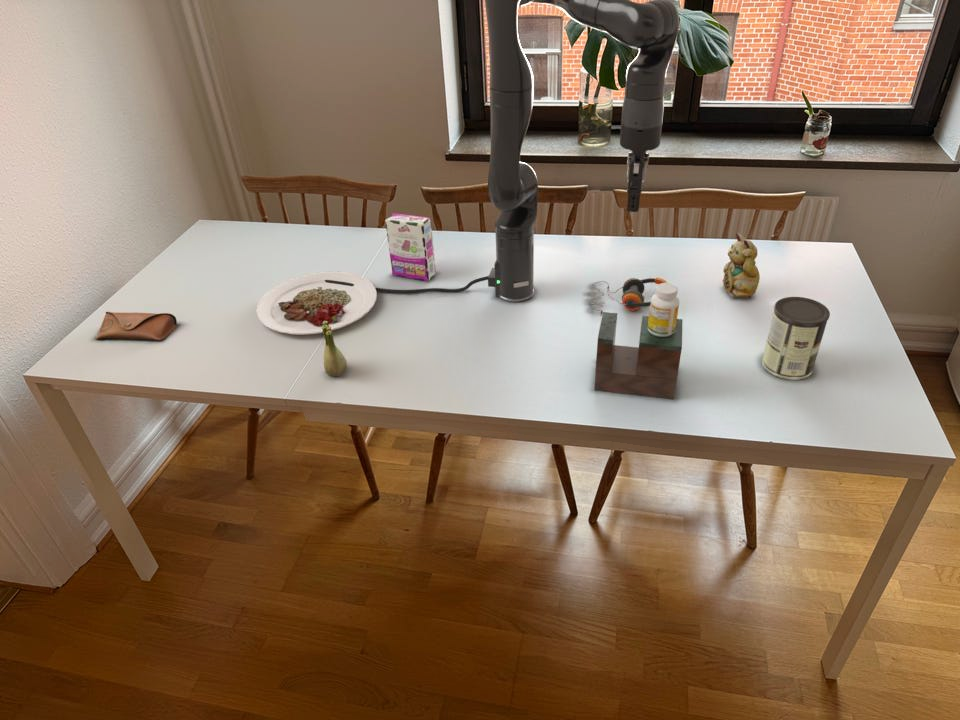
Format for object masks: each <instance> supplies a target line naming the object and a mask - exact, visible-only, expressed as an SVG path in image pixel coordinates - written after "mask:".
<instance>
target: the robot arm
mask: <svg viewBox="0 0 960 720" xmlns="http://www.w3.org/2000/svg"><path fill="white" fill-rule="evenodd" d="M531 3H532V4H533V3H534V4H545V5H551V6H554V7H556V8H558V9H560V10H561V11H563V12H564V13H565V14H566V15H567V16H568V17H569V18H571V19H572V20H574V21H575V22H576V23H579V24H580V25H583V26H585V27H588V28H592V29H595V30H597V31H600V32H603V33H607V34H608V35H609V36H611V37H612V38H614V39H615V40H616V41H618V43H619V42H620V43H621V44H622V45H624V46H627V47H629V48H633V49H637V50H638V53H637V56H636V57H635V58H634V59H633V60H632V62H630V63H629V64H628V66H627V69H626V74H625V87H624V97H623V102H622V109H621V119H620V120H621V121H620V133H619V145H620V147H621V148H623V149H625V150H627V151H631V152H628V156H627V161H626V167H627V171H626V182H627V189H626V194H627V207H626V211H627V212H628V213H638V212H639V210H640V201H641V199H640V198H641V195H642V193H643V183H645V181H646V174H647V170H648V169H647V168H648V167H649V160H650V153H649V152H648V151H653V150H656V149H657V148H659V146H660V145H661V137H662V129H663V128H662V127H663V119H664V118H663V117H664V112H665V111H664V110H665V102H664V101H665V99H664V97H665V89H666V80H667V79H666V78H667V71H668V67H669V66H670V65H669V64H670V62H671V59H672V56H673V53H674V49H675V47H676V43H677V38H678V36H679V29H680V15H679V11H678V8H677V6H676V5H675V3H673V1H671V0H649V1H645V2H636V1H632V0H484V4H485V14H486V25H487V34H488V53H489V109H490V110H489V111H490V151H489V152H490V155H489V165H488V175H487V193H488V197H489V200H490V202H491V203H492V205H493V207H495V209H497V210H498V211H500V212H499V214H498V216H497V218H496V219H495V223H494V230H495V256H496V257H495V258H496V260H495V261H494V265H493V267H492V268H491V270H490V272H489V274H488V275H486V276H481V277H479V278H476V279H473V280H471V281H470V282H468V283H467V284H466V285H464V286H463V287H460V288H443V287H431V288H430V287H429V288H417V289H393V288H392V289H391V288H381V287H375V289H376V292H379V293H380V292H381V293H388V294H389V293H391V294H418V293H430V292H435V293H436V292H438V293H439V292H440V293H461V292H464V291H466V290H468V289H469V288H471V286H473V285H474V284H477V283H480V282H484V281H487V287H489V288H494V289H495V290H494V291H495V292H494V293H495V298H500V299H501V300H503V301H505V302H510V303H518V302H519V303H520V302H524V301H527V300H529V299H531V298H533V296H534V294H535V289H534V287H535V284H534V273H535V271H534V269H535V268H534V266H535V265H534V260H535V259H534V255H535V254H534V251H535V250H534V242H535V241H534V238H535V237H534V236H535V234H534V233H535V232H534V227H535V223H536V222H537V221H536V220H537V216H538V204H539V203H538V202H539V182H538V181H539V180H538V177H537V174H536V172H535V170H534V169H533V168H532V166H531V165H529V164H528V163H526V162H523V161H521V152H522V148H523V144H524V139H525V137H526V134H527V130H528V127H529V125H530V121H531V118H532V114H533V107H534V74H533V71H532V68H531V65H530V62H529V61H528V59H527V57H526V55H525V52H524V51H523V50H524V49H523V48H522V46H521V43H520V39H519V33H518V10H519V7H523V6H526V5H530V4H531ZM647 152H648V153H647ZM325 282H327V283H333V284H341V285H347V286H354V284H352V283H347V282H341V281H333V280H325Z"/></svg>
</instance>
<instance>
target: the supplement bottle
mask: <svg viewBox="0 0 960 720" xmlns="http://www.w3.org/2000/svg"><path fill="white" fill-rule="evenodd" d="M678 291H679V288H678V287H677V286H676V285H675V284H673V283H670V282H667V283H661V284H656V287H655V293H654V294H653V295H652V297H651V298H650V301H651V303H650V306H649V312H648V316H649V319H648V331H649V332H650V333H651V334H653V335H655V336H659V337H667V336H670V335H672V334H673V333H674V331H675V326H676V321H677V319H678V313H679V307H680V299H679V297H678Z"/></svg>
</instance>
